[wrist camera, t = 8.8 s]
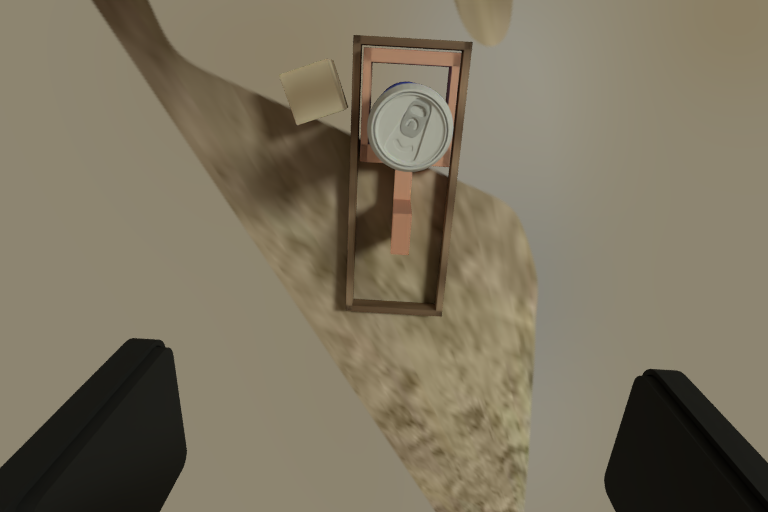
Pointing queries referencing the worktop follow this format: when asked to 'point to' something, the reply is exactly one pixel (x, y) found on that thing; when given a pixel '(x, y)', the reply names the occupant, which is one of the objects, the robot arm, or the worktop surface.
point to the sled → (402, 179)
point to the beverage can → (410, 127)
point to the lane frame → (452, 178)
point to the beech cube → (314, 91)
